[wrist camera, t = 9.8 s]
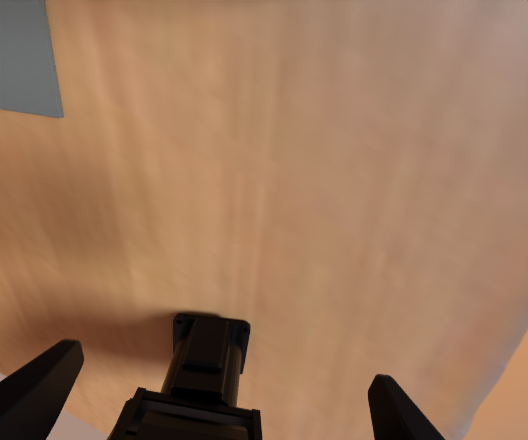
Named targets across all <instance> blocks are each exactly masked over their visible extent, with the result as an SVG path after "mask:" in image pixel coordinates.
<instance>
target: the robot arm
mask: <svg viewBox="0 0 528 440" xmlns="http://www.w3.org/2000/svg"><path fill="white" fill-rule="evenodd" d="M180 320H181V321H180ZM250 328H251V326H250V324H249V323H247V322H241V321H233V320H225V319H217V318H208V317H200V316H192V315H184V314H178V315H176V316H175V318H174V321H173V357H172V360H171V363H170V366H169V369H168V372H167V375H166V378H165V380H164V383H163V386H162V389H161V392H160V393H159V392H154V391H148V390H146V388H141V387H138V389H137V391H136V393H135V395H134V397H133V398H130V400H128V401H126V403H125V405H124V407H123V409H122V412H121V414H120V416H119V418H118V421H117V423H116V425H115V427H114V428H113V430H112V432H111V433H110V435H109V437H108V438H107V440H262V429H261V416H260V410H256V409H252V410H248V409H243V408H238V407H236V406H237V396H238V386H239V376H240V374H242V373H243V369H244V363H245V358H246V352H247V346H248V341H249V335H250ZM83 362H84V356H83V352H82V347H81V343H80V341H79V340H74V339H64V340H61V341H60V342H58V343H57V344H55V345H54V346H52V347H51V348H49V349H48V350H46V351H45V352H43V353H42V354H41V355H39V356H38V357H36V358H35V359H33V360H32V361H30V362H29V363H27V364H26V365H24V366H23V367H21V368H20V369H18V370H17V371H15V372H14V373H12V374H11V375H9V376H8V377H6V378H5V379H4V380H2V381H1V382H0V440H46V438H47V437H48V435H49V433H50V431H51V430H52V428H53V426H54V424H55V422H56V420H57V418H58V416H59V414H60V412H61V410H62V408H63V406H64V404H65V402H66V400H67V397H68V395H69V393H70V391H71V389H72V387H73V385H74V383H75V380H76V378H77V376H78V374H79V372H80V370H81V368H82V365H83ZM368 401H369V407H370V413H371V420H372V426H373V432H374V438H375V440H445V439H444V438H443V436H442V435H441V434H440V433H439V432H438V431H437V429H436V428H435V427H434V426H433V425H432V423H431V422H430V421H429V420H428V419H427V418H426V416H425V415H424V414H423V413H422V412H421V411H420V409H419V408H418V407H417V406H416V405H415V403H414V402H413V401H412V400H411V399H410V398H409V396H408V395H407V394H406V393H405V392H404V391H403V389H402V388H401V387H400V386H399V385H398V384H397V382H396V381H395V380H394V379H393V378H392V377H391V376H389V375H383V374H377V375H376V376H375V378H374V380H373V382H372V384H371V385H370V387H369V390H368Z"/></svg>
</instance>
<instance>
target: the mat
mask: <svg viewBox="0 0 528 440" xmlns="http://www.w3.org/2000/svg"><path fill="white" fill-rule="evenodd" d="M0 109H3V110H10V111H16V112H22V113H29V114H35V115H42V116H48V117H55V118H62V117H64V116H63V110H62V104H61V98H60V93H59V87H58V81H57V75H56V69H55V63H54V57H53V51H52V45H51V39H50V33H49V27H48V21H47V15H46V9H45V3H44V0H0Z"/></svg>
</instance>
